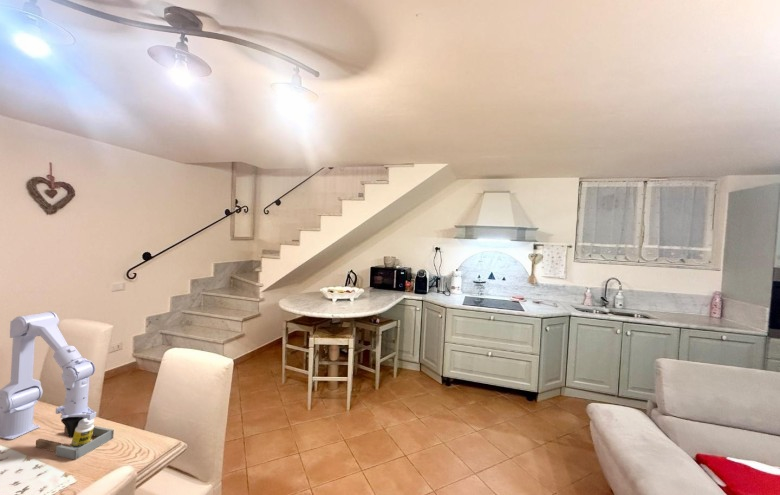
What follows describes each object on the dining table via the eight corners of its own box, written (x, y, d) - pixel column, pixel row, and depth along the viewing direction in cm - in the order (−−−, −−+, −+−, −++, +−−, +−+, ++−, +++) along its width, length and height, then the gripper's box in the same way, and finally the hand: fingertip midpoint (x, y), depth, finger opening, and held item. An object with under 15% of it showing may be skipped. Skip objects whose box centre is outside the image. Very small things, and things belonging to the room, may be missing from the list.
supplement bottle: (76, 451, 103) (82, 427, 103) (67, 445, 104) (73, 422, 104) (93, 442, 107) (99, 420, 107) (84, 437, 109) (89, 415, 108)
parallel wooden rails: (35, 447, 103) (36, 440, 103) (67, 431, 112) (67, 425, 112) (57, 451, 102) (57, 444, 102) (87, 435, 111) (88, 429, 111)
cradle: (55, 455, 100) (56, 446, 100) (94, 434, 112) (95, 426, 112) (75, 459, 99) (76, 450, 99) (113, 437, 111) (113, 429, 111)
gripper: (45, 399, 103) (42, 439, 103) (80, 406, 101) (77, 446, 101) (70, 390, 110) (67, 427, 110) (103, 396, 108) (101, 434, 108)
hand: (74, 435), depth 106 cm, fingers closed
